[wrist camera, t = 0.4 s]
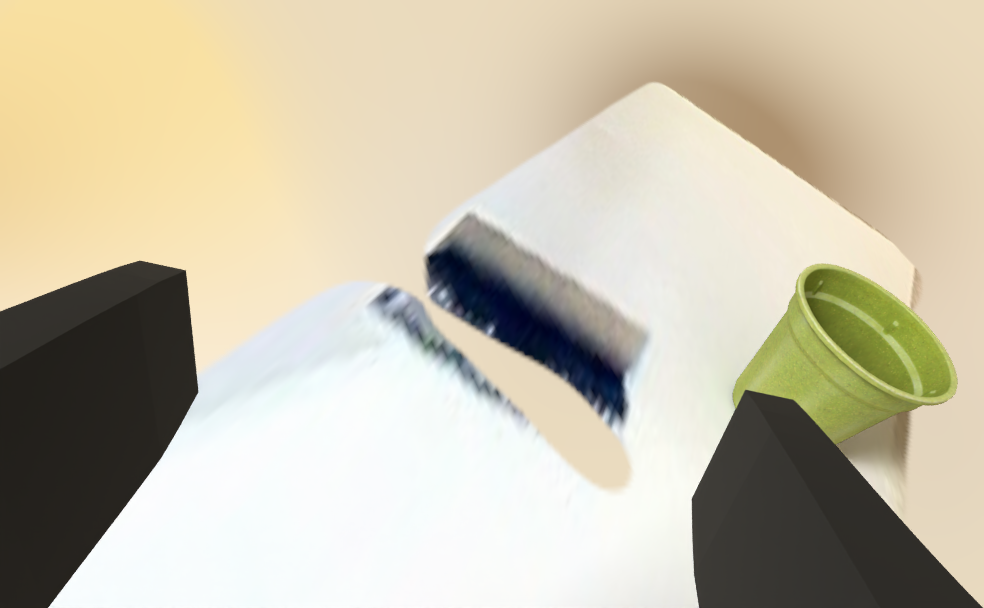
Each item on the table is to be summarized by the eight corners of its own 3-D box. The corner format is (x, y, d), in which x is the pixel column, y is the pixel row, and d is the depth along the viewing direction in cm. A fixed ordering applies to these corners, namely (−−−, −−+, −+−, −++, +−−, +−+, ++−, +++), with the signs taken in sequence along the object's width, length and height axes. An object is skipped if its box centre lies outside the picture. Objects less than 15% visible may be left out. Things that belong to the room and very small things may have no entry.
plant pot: (788, 356, 46) (881, 268, 40) (871, 481, 40) (993, 399, 35) (682, 355, 42) (768, 257, 36) (758, 494, 36) (874, 404, 31)
